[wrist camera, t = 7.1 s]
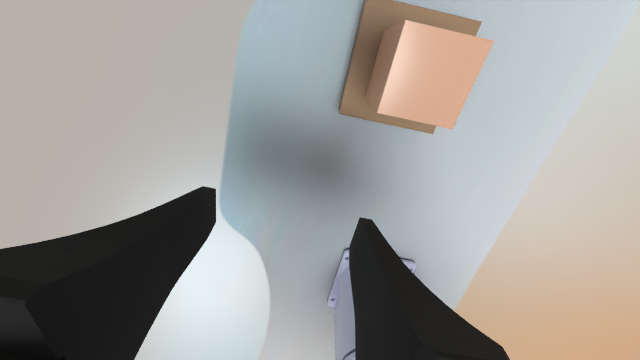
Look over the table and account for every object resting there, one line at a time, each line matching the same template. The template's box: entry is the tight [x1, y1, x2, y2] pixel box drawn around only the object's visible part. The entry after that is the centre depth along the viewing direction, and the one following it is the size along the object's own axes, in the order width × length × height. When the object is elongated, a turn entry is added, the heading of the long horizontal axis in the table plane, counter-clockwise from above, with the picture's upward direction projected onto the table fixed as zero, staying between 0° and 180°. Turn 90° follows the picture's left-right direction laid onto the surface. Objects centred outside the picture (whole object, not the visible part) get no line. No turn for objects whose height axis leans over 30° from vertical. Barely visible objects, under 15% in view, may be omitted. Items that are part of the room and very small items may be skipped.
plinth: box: [339, 0, 482, 134], centre depth 17 cm, size 7×7×2 cm
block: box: [366, 20, 494, 129], centre depth 13 cm, size 4×4×5 cm
